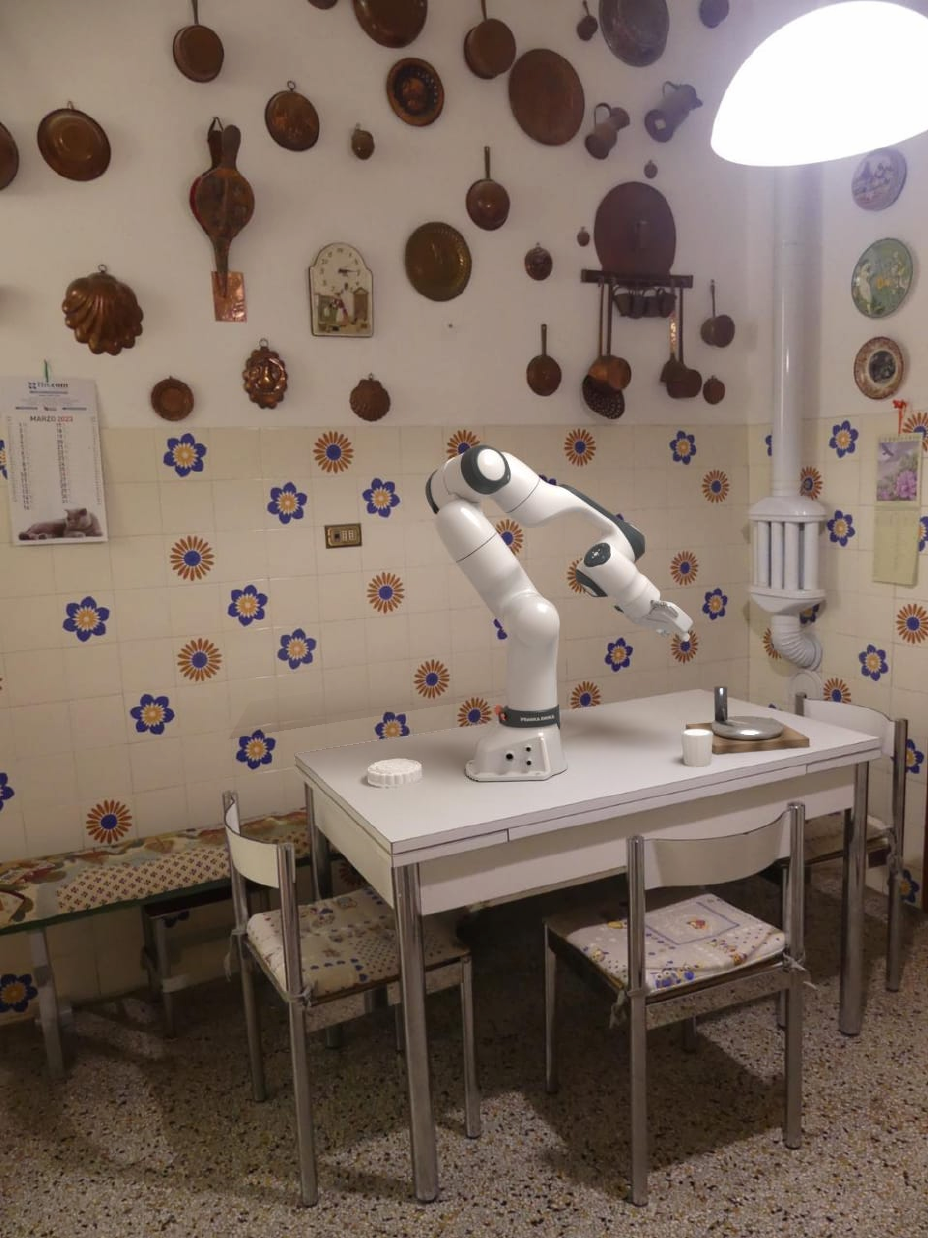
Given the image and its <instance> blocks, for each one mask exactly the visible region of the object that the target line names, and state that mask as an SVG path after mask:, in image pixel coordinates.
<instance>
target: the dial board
mask: <svg viewBox="0 0 928 1238" xmlns="http://www.w3.org/2000/svg"><path fill="white" fill-rule="evenodd" d="M769 718H770V719H774V720H776V719H775V718H773V717H769ZM712 722H713V721H712ZM712 722H700V723H689V724H688V723H687V724H686V723H685V730H687V729H706V730H710V731H712ZM781 723H782V724H783V733H782V734H781V735H779V736H777V737H773V738H768V739H758V740H743V739H732V738H726V737H722V736H719V735H716V734H714V733H713V741H712V753H713V755H715V754H716V755H727V754H726V753H730V754H739V753H740V754H741V753H750V752H751V753H752V752H761V751H762V752H765V751H776V750H777V749H779V750H786V748H791V749H799V748H798V747H803V748H809V747H810V738H809V737H808V736H806V735H805V734H802V733H800V732H799V731H797V730H795V729H794V728H792V727H790V726H788V725H786V724H784V723H783V722H781ZM808 746H809V747H808ZM777 751H778V750H777Z"/></svg>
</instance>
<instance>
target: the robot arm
mask: <svg viewBox="0 0 928 1238" xmlns="http://www.w3.org/2000/svg"><path fill="white" fill-rule="evenodd" d="M424 491H425V497H426V500H427V502H428V504H429V506H430V507H431V510H432V512H433V513H434V515H435V517H434V521H433V522H434V528H435V530H436V532H437V535H438V537H439V539H440V540H441V543H442V544H443V546H444V547H445V549H446V551H447V552H448V554H449V556H450V557H451V558H452V560H453V561H454V562H455V564H456V565H457V567H458V568H459V569H460V570H461V573H463V575H464V576H465V577H466V579H467V580H468V581H469V582H470V584H471V585H472V586H473V588H474V589H475V591H476V592H477V594H478V595H479V596H480V598H481V599H482V601H483V602H484V604H485V605H486V607H487V608H488V609H489V610H490V612H491V614H492V616H494V617H495V619H496V620H497V622H498V624H499V625H500V626H501V627H502V629H503V630H504V631H505V632H506V635H507V650H506V651H507V652H506V654H507V655H506V666H505V668H506V669H505V683H506V685H505V686H506V688H505V689H506V705H505V706H503V707H502V706H501V705H495V707H494V708H493V710H494V712H493V713H495V715H496V716H497V717H498V723H497V725H496V726H494V727H493V728H492V729H491V730H489V731H488V732H487V733H486V734H485V735H483V736H482V737H481V738H480V739H479V740H478V742H477V743H476V747H475V752H474V759H471V760H469V761H467V763H466V764H465V769H466V771H465V773H467V774H468V775H467V774H466V775H467V777H468V776H469V777H468V778H470V777H471V778H472V779H471V778H470V779H471V780H473V779H475V780H474V781H476V780H478V781H477V782H507V781H511V782H512V781H544V780H547V779H549V778H551V777H552V776H553V775H558V774H560V773H562V772H564V771H565V770H566V769H567V768H568V764H567V761H566V757H565V754H564V750H563V749H564V748H563V746H562V739H561V733H560V730H561V723H562V720H561V708H560V704H559V703H558V687H557V686H558V685H557V684H558V682H557V663H558V656H559V655H558V652H559V642H560V640H559V638H560V628H561V627H560V625H561V622H560V621H561V620H560V615H559V612H558V610H557V608H556V607H555V605H554V604H553V603H552V602H551V601H550V600H548V599H547V598H544V597H543V595H541V594H540V592H539V591H538V590H537V588H536V587H535V586H534V584H533V583H532V581H531V580H530V577H529V576H528V575H527V573H526V571H525V570H524V569H523V567H522V565H521V563H520V562H519V560H518V559H517V557H516V556H515V554H514V553H513V552H512V551H511V549H510V547H509V546H508V544H507V543H506V542H505V540H504V539H503V537H502V536H500V534H499V533H498V531H497V530H496V528H495V527H494V526H493V524H492V523H490V521H489V519H488V518H487V517H486V516H485V515H484V512H483V509H482V506H481V502H483V501H484V500H485V499H490V500H492V501H493V502H494V503H495V504H496V505H497V506H498V507H499V509H501V510H502V511H503V513H505V514H506V516H508V517H509V518H510V519H511V520H512V521H513V522H515V523H516V524H518V525H519V526H521V527H523V528H526V529H536V528H541V527H544V526H547V525H549V524H551V523H553V522H555V521H557V520H559V519H560V518H562V517H564V516H566V515H569V514H572V513H576V514H578V515H580V516H581V517H582V518H584V519H586V520H587V521H589V522H590V523H591V524H593V525H594V526H596V527H597V528H599V529H600V530H602V535H601V536H600V538H599V540H597V542H596V543H595V544H594V545H593V546H591V548H589V550H588V551H587V552H586V553H585V555H584V556H583V558H582V559H581V560H580V561H579V562H578V564H577V565H576V567H575V569H574V576H575V582H576V583H577V584H578V585H579V586H580V587H581V588H583V590H584V591H585V592H586V593H587V594H588V595H590V596H591V597H592V598H608V596H611V597H612V598H613V599H614V601H613V603H612V608H613V609H614V610H616V612H620V614H622V615H623V616H624V617H625V618H626V619H627V620H628V621H630V622H631V623H633V624H635V626H640V627H645V628H648V629H651V630H653V631H654V632H656V633H658V634H659V635H660V637H662V638H668V637H669V636H670V635H671V633H675V634H677V635H678V636H677V637H678V638H679V640H680V641H682V642H685V643H687V642H689V640H690V639H691V635H690V634H689V633H688V632H689V631H690V629H691V628H692V626H693V624H694V621H693V620H692V618H691V617H690V616H689V615H688V614H687V613H686V612H685V611H684V610H682V609H681V608H680V607H678V605H676V604H675V603H673V602H670V601H664V600H660V599H661V592H660V590H659V589H658V588H657V587H656V585H654V584H653V583H652V582H651V580H649V578H648V577H647V576H645V575H644V574H642V573H641V572H639V570H638V568H637V566H636V565H635V563H637V561H638V560H639V559H640V558H641V557H642V556H643V555H645V552H646V538H645V535H643V533H642V532H641V531H640V530H639V529H637V528H636V527H635V526H634V525H631V524H630V523H627V522H626V521H624V520H623V519H621V518H619V517H618V516H616V515H615V514H613V513H612V512H611V511H609V510H608V509H607V508H605V507H603V506H602V505H600V504H599V503H597V501H595V500H593V499H592V498H590V497H589V496H587V495H585V494H584V493H582V492H581V491H579V490H578V489H576V488H575V487H572V486H571V485H568V484H564V483H560V484H557V485H554V484H550V483H548V482H546V481H545V480H543V479H542V478H541V477H540V476H539V475H538V474H537V473H536V472H535V471H534V470H533V469H531V468H530V467H529V466H528V465H526V464H525V463H524V462H523V461H521V460H520V459H519V458H517V457H515V456H514V455H513V454H511V453H509V452H507V451H506V452H505V451H500V450H499V449H496V448H495V447H493V446H490V445H488V444H479V445H474V446H472V447H470V448H468V449H466V450H465V451H464V452H462V453H461V454H458V455H457V456H454V457H451V458H450V459H449V460H447V461H446V462H445V463H444V464H442V465H441V466H440V467H439V468H438V469H436V470H435V471H434V472H432V473H431V474H430V476H429V477H428V480H427V481H426V484H425V487H424Z"/></svg>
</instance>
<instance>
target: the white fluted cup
mask: <svg viewBox="0 0 928 1238" xmlns="http://www.w3.org/2000/svg"><path fill="white" fill-rule="evenodd" d="M680 738H681V746H682V747H681V748H682V755H683V756H682V757H683V763H684V765H685V766H688V767H693V768H704V767H708V766H711V764H712V753H713V752H712V741H713V732H712V731H710V730H706V729H687V730H686V729H684V730H682V731H681V732H680Z"/></svg>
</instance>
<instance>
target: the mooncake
mask: <svg viewBox="0 0 928 1238" xmlns="http://www.w3.org/2000/svg"><path fill="white" fill-rule="evenodd" d="M422 768H423V766H422V763H420V762H419V761H417V760H413V759H407V758H396V757H395V758H393V759H383V760H379V761H376V762H374V763H373V764H371V765H369V766H368V767H367V768H366V775H367V776H366V777H367V780H368V779H369V780H370V781H371V782H374V783H377V784H378V783H380V784H382V785H383V784H388V785H393V784H402V783H409V782H411V781H415V780H417V779H420V777H421V776H422V777H423V769H422Z"/></svg>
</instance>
